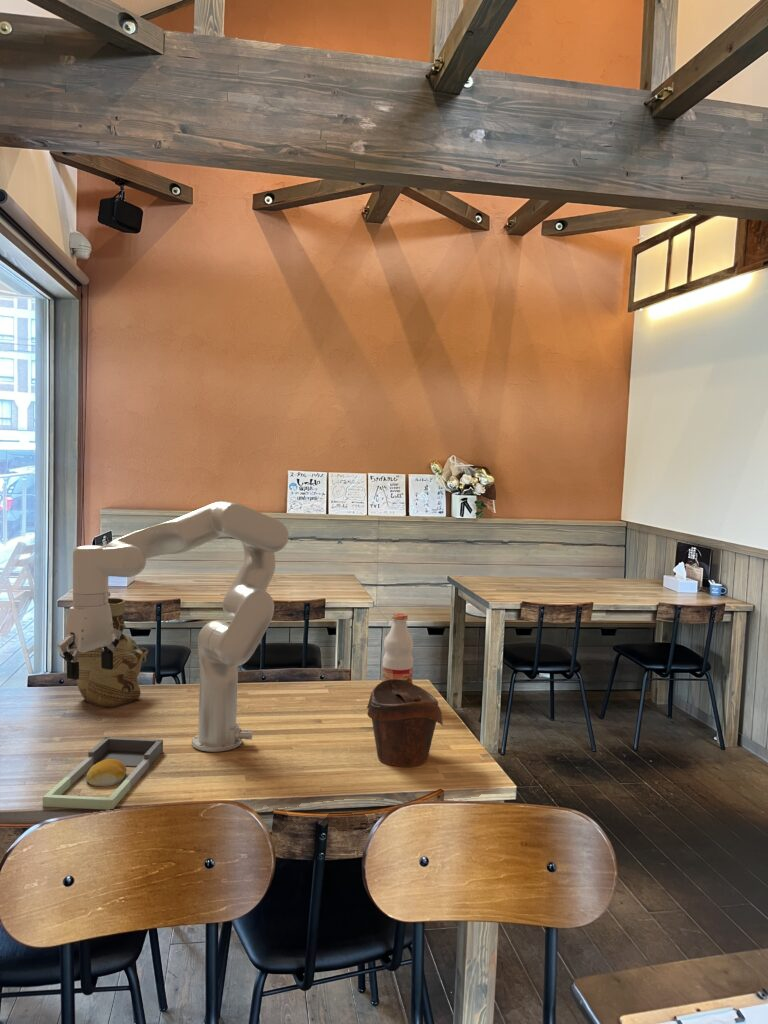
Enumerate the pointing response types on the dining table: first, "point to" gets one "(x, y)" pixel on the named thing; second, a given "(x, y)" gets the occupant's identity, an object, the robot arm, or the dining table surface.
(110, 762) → the bread roll
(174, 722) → the dining table surface
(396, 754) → the brown trash bin
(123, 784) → the channel
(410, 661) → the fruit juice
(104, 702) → the ceramic vessel
